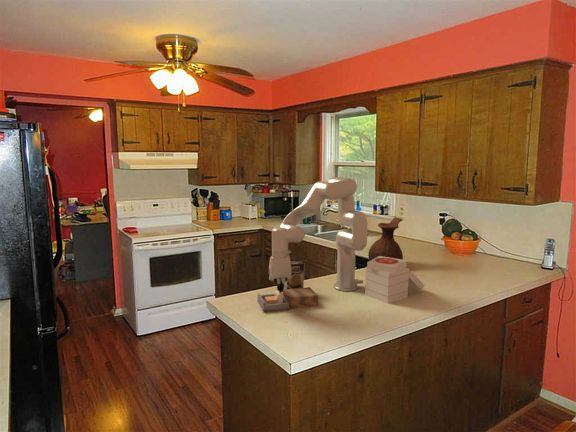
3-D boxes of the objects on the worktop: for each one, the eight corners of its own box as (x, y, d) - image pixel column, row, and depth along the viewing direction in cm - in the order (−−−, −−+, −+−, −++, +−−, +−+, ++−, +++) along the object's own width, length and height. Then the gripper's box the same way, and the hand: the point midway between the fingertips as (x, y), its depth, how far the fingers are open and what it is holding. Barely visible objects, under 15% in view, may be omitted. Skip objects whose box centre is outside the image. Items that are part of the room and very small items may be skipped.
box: (281, 298, 203) (281, 291, 202) (289, 309, 190) (289, 301, 189) (257, 301, 200) (257, 293, 199) (263, 312, 187) (263, 303, 186)
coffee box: (286, 295, 208) (286, 264, 205) (283, 291, 214) (283, 261, 211) (303, 293, 210) (304, 263, 207) (300, 289, 216) (300, 260, 214)
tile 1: (264, 296, 196) (264, 302, 196) (266, 300, 191) (266, 306, 191) (274, 295, 197) (274, 301, 197) (277, 299, 192) (277, 305, 193)
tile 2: (280, 290, 198) (274, 291, 197) (283, 294, 193) (277, 294, 192) (280, 300, 198) (274, 301, 198) (283, 304, 194) (277, 305, 193)
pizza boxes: (427, 293, 212) (429, 259, 209) (387, 305, 195) (388, 268, 192) (397, 283, 227) (399, 251, 224) (358, 293, 210) (359, 259, 207)
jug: (407, 271, 250) (409, 222, 245) (371, 270, 250) (373, 222, 245) (398, 261, 271) (400, 216, 266) (365, 261, 272) (367, 216, 267)
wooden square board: (309, 296, 206) (309, 287, 205) (317, 305, 195) (317, 295, 194) (282, 299, 202) (282, 289, 201) (289, 308, 191) (289, 298, 190)
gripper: (293, 250, 197) (293, 287, 200) (262, 253, 193) (263, 290, 196) (297, 254, 190) (297, 292, 193) (266, 257, 186) (266, 295, 189)
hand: (280, 291), depth 195 cm, fingers closed
